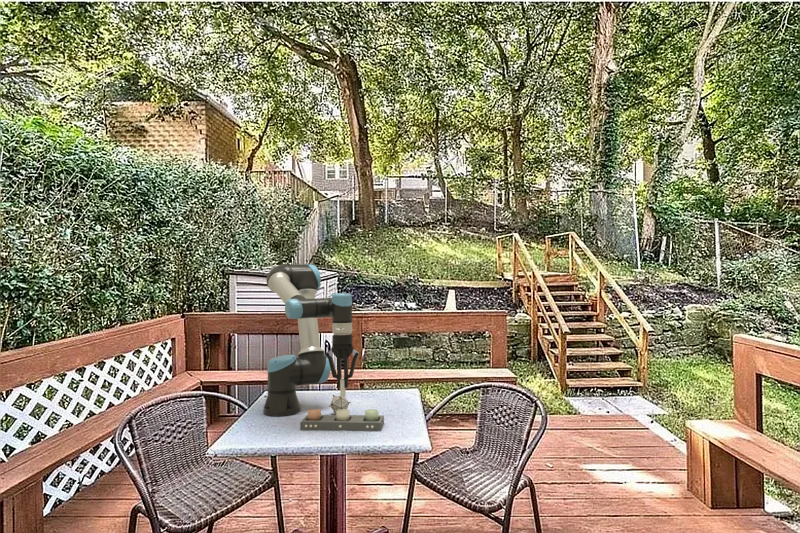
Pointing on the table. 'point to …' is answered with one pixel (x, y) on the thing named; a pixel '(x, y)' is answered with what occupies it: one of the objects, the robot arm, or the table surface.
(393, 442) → the table surface
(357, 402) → the table surface
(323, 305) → the robot arm
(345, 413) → the button one
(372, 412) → the button two
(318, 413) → the button three
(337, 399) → the game die
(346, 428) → the console
